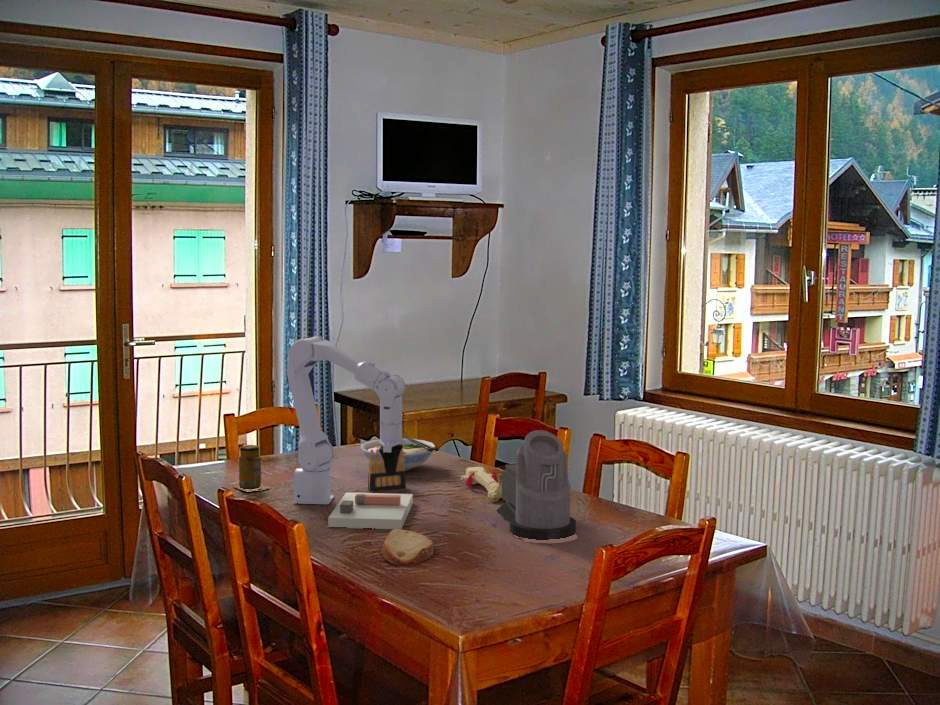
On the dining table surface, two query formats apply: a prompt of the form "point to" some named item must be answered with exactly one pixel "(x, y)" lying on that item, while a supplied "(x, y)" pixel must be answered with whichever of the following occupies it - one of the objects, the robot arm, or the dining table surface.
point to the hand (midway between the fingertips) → (391, 473)
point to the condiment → (249, 467)
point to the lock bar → (378, 499)
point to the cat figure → (485, 482)
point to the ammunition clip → (379, 476)
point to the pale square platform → (370, 513)
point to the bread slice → (406, 548)
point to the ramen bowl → (405, 451)
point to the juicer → (538, 490)
